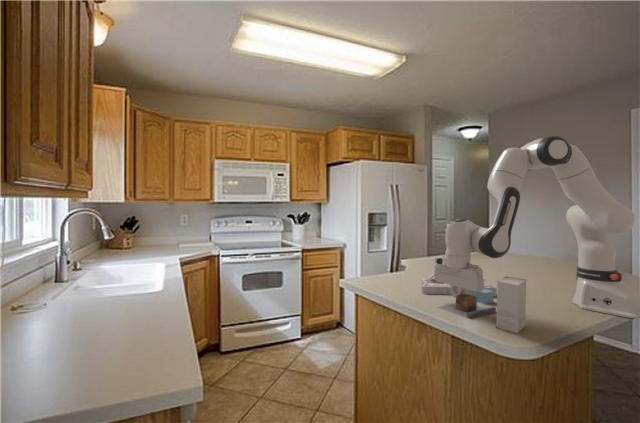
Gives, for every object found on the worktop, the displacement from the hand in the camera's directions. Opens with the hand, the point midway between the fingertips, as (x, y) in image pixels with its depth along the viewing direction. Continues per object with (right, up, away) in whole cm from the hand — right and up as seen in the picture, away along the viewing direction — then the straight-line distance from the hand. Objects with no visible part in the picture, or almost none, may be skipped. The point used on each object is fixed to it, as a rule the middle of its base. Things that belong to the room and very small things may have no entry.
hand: (457, 297), depth 129 cm
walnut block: (+2, -3, -4) cm, 5 cm away
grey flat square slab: (+2, -4, -3) cm, 5 cm away
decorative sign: (+9, -3, +30) cm, 32 cm away
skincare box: (+9, -5, -20) cm, 22 cm away
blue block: (+13, -4, +6) cm, 14 cm away
